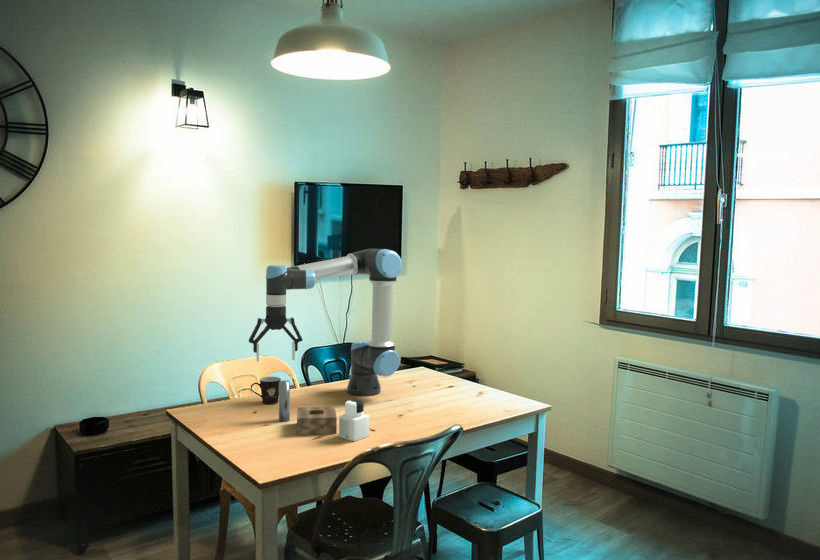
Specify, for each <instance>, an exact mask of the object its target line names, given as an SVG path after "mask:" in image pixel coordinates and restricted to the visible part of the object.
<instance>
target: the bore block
mask: <svg viewBox="0 0 820 560" xmlns="http://www.w3.org/2000/svg"><path fill="white" fill-rule="evenodd" d="M337 420H338V418H337V411H336V406H333V405H332V406H305V407H303V406H301V407H300V406H299V407H297V412H296V436H306V435H307V436H308V435H310V436H312V435H335V434H337V433H338V432H337V429H338V428H337V426H338V425H337V422H338V421H337Z"/></svg>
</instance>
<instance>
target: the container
mask: <svg viewBox="0 0 820 560" xmlns="http://www.w3.org/2000/svg"><path fill="white" fill-rule="evenodd" d="M364 405H365V403H364V401H363V400H360V399H356V398H355V399H353V398H352V399H349V400H348V399H347V401H346V402H345V404H344V414H341V415H339V417H338V418H339V419H338V420H339V421H338V424H339V426H338V436H339V438H342V439H345V440H348V441H351V442H357V441H360V440H363V439H365V438H368V437H370V415H369V414H365V413H364V412H365V411H364V410H365V409H364V408H365V406H364Z"/></svg>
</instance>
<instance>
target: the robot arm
mask: <svg viewBox="0 0 820 560" xmlns="http://www.w3.org/2000/svg"><path fill="white" fill-rule="evenodd" d="M402 268H403V262H402V259H401V256H400V255H399V254H398V253H397V252H396V251H394V250H390V249H388V248H368V249H367V248H366V249H364V250H358V251H355V252H352V253H351V252H350V253H348V254H347V255H346V256H341V257H336V258H331V259H326V260H321V261H320V260H319V261H316V262H311V263H304V264H299V265H295V266H289V267H287V266H286V265H283V264H280V265H279V264H277V265H276V264H273V265H271V264H270V265H268V266H266V271H265V272H266V273H265V280H266V281H265V287H266V291H265V293H266V294H265V304H266V307H265V318H260V317H258V318H257V321H256V325H255V327H254V329H253V331H252V332H251V334H250V336H249V338H248V343H250V344H252V345H253V347H252V348H253V349H252V350H253V353H256V356H255V357H256V359H255V360H256V362H257V363H258V362H260V345H259V342H260V341H261V339H262V338H263V337H264V336H265V335H266V334H267V332H269V331H270V330H271V331H275V330H278V331H280V330H284V332H285V333H286V334H287V335H288V337H289V338H290V339H292V341H293V342H291V343H292V344H291V360H292V361H295V360H296V352H297V351H299V346H298V344H299V343H300V342H302V341H303V337H302V335H301V333H300V331H299V330H298V328H297V325H296V324H295V323H296V322H295V317H292V316H291V317H288V318H287V306H286V305H287V291H288V290H310V289H313V288H314V287H315V285H316V282H317V281H318V280H319V281H320V280H323V279H330V278H334V277H339V276H345V275H349V274H350V275H352V276H355V275H368V276H369V279H368V280H369V282H370V283H371V284H372V303H371V304H372V307H371V308H372V309H371V311H372V312H371V313H372V314H371V316H372V317H371V339H370V340H359V341H355V342H352V343H351V347H350V352H351V353H350V355H351V356H350V358H351V359H350V368H351V369H350V377H349V380H348V384H347V386H346V392H347V393H348V394H349V395H353V396H358V397H359V396H360V397H364V396H365V397H366V396H376V395H379V394H380V393H381V391H382V390H381V384H380V381H379V377H389V376H392V375H393V374H395V372H396V371H397V370H398V368H399V367H400V363H401V359H400V355H399V354H398V353H397V351H396V350H395V349H396V343H395V342H394V341H393V339H392V338H393V335H392V334H393V333H392V331H393V297H394V296H393V295H394V294H393V293H394V291H393V290H394V288H393V287H394V284H395V283H396V282H397V277H398V276H399V274H400V273H401V272H402ZM287 322H288V324H290V325H291V328H292V329H293V330H294V332H295V335H296V336H297V338H296V337H295V336H294V334H293V333H292V332H291V331H290V330H289V329H288V328H287V327H286V324H287ZM263 323H265V324H266V326H265V327H264V329H262V330H261V331H260V333H259V334H258V335H257V333H258V331H259V329H260V327H261V325H263ZM256 335H257V337H256ZM255 337H256V338H255ZM378 376H379V377H378Z"/></svg>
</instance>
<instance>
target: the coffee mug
mask: <svg viewBox="0 0 820 560" xmlns="http://www.w3.org/2000/svg"><path fill="white" fill-rule="evenodd" d="M279 381H282V379H281V377H279V376H264V377H261V378H259V382H254V383H252V384H251V385H250V390H251V391H252V392H253V393H254V394H255V395H257V396H259V397H261V400H262V402H261V403H262V404H264V405H268V406H269V405H276V404H279ZM254 385H258V387H259V388H260V392H261V394H259V393H258V392H256V391H255V390H254V389H253V387H254Z"/></svg>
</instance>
